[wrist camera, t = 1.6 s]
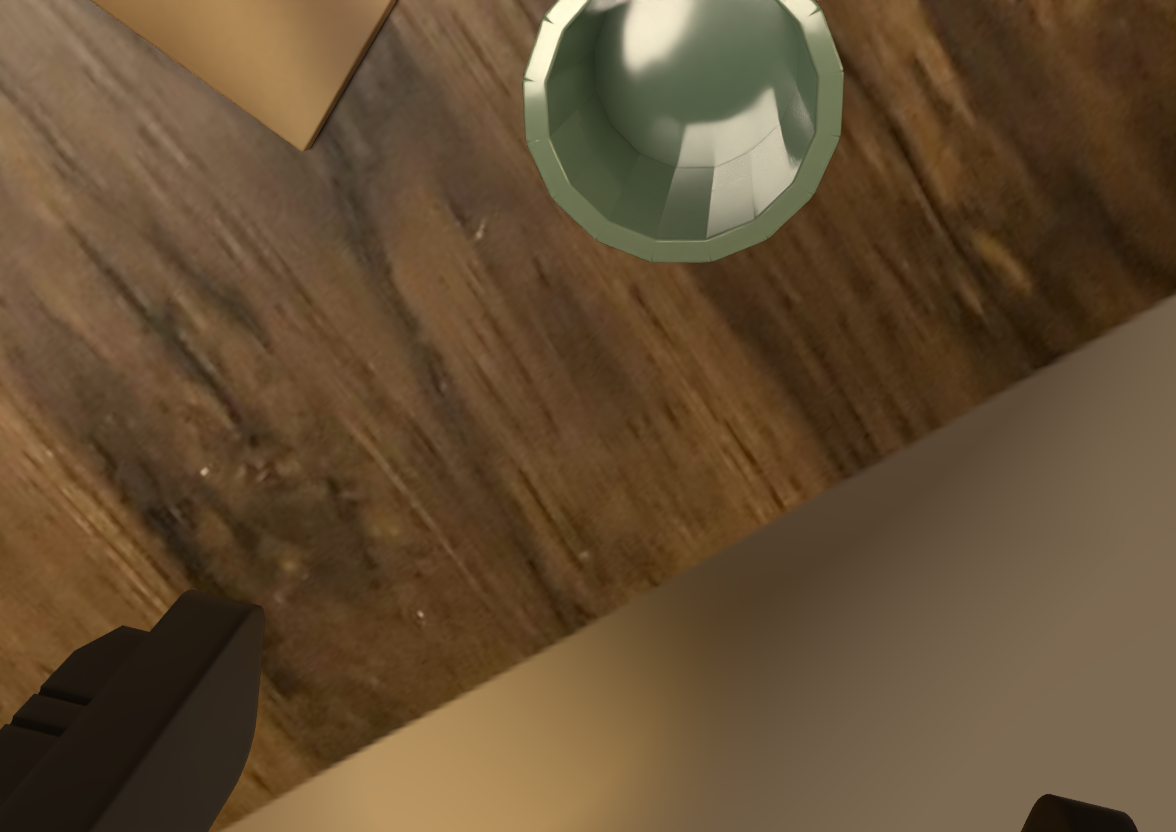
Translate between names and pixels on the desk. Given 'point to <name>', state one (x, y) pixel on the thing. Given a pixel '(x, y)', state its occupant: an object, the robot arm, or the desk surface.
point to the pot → (682, 119)
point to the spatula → (264, 51)
